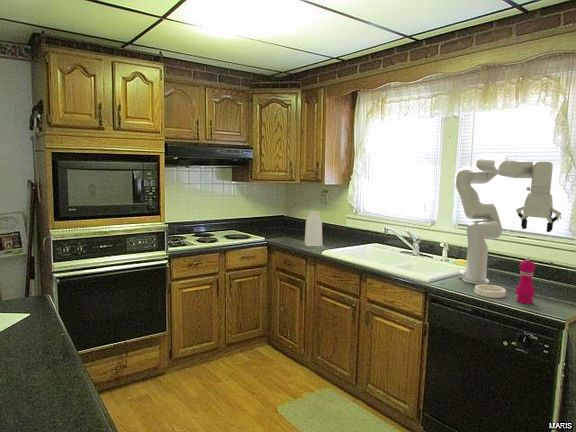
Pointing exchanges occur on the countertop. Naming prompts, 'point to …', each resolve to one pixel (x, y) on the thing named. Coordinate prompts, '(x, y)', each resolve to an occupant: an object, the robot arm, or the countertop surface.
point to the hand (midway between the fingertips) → (536, 230)
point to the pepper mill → (526, 282)
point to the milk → (313, 229)
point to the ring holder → (490, 291)
